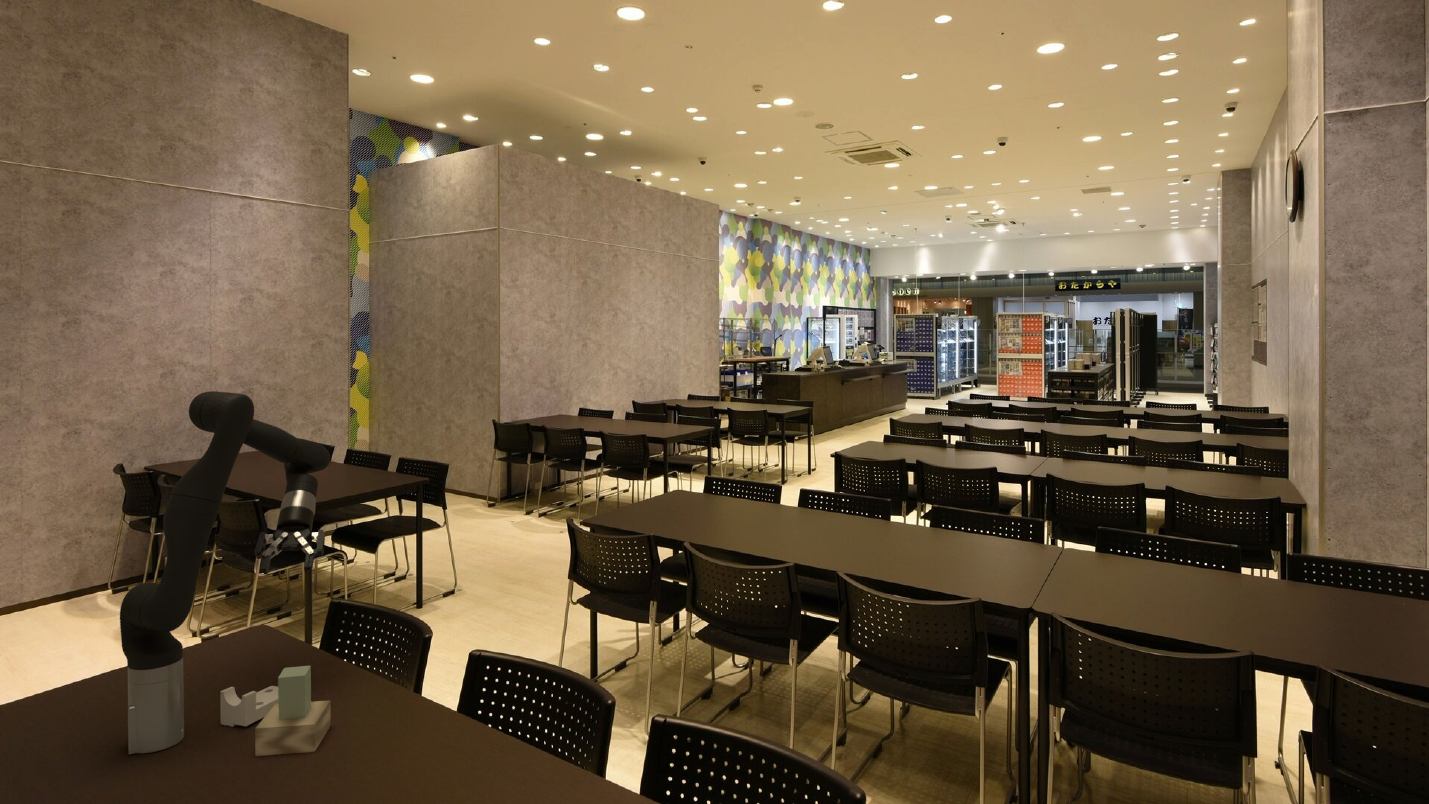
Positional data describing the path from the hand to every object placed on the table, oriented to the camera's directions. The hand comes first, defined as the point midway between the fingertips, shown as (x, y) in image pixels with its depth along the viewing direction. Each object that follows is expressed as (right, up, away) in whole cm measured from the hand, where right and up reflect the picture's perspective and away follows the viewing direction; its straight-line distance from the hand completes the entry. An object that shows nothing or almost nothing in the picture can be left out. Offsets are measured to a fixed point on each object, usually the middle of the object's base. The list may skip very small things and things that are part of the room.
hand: (285, 571), depth 174 cm
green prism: (+11, -26, -16) cm, 33 cm away
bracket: (-3, -31, -5) cm, 32 cm away
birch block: (+11, -32, -16) cm, 38 cm away
